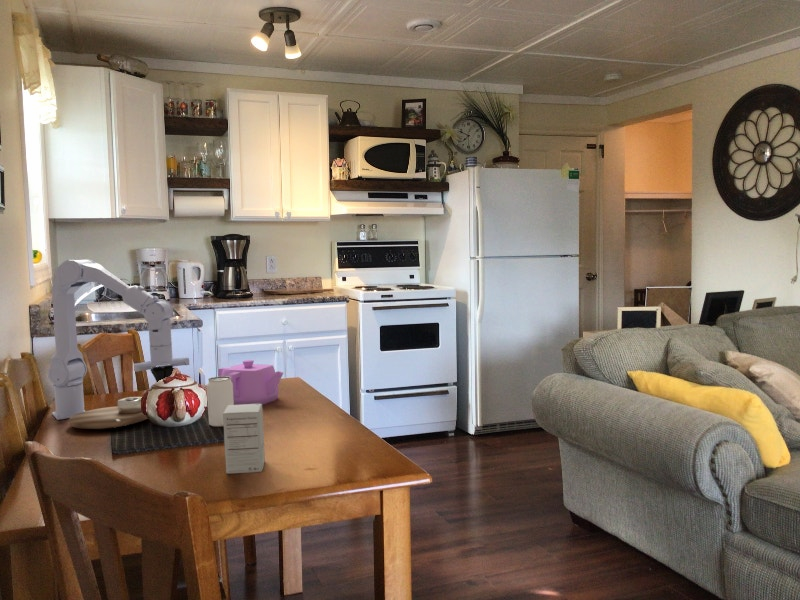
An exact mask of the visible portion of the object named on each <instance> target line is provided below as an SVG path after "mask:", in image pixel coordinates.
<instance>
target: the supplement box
mask: <svg viewBox="0 0 800 600" xmlns="http://www.w3.org/2000/svg"><path fill="white" fill-rule="evenodd" d="M223 423H224V427H223V439H224V457H225V472H226V474H242V473H243V474H247V473H248V474H249V473H261V472H263V468H264V466H265V462H266V456H265V455H266V454H265V453H266V451H265V433H264V415H263V405H262V404H242V405H228V406H227V408H226V410H225V411H224V413H223Z"/></svg>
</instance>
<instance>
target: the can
mask: <svg viewBox="0 0 800 600" xmlns="http://www.w3.org/2000/svg"><path fill="white" fill-rule="evenodd" d="M230 378H231V377H227V376H221V377H218V376H214V377H210V378H208V382H207V383H206V393H207V396H206V397H207V412H208V413H207V414H208V425H210V426H211V427H214V428H221V427H222V428H224V423H223V413H224V411H225V410H226V408H227V406H228V405H234V400H233V384H232V381H231V380H230Z"/></svg>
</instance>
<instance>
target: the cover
mask: <svg viewBox="0 0 800 600" xmlns="http://www.w3.org/2000/svg"><path fill="white" fill-rule="evenodd" d="M142 397H143V396H129V397H123V398H120V399H118V400H117V406H118V413H119V414H137V413H141V412H142V411H141V398H142Z"/></svg>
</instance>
